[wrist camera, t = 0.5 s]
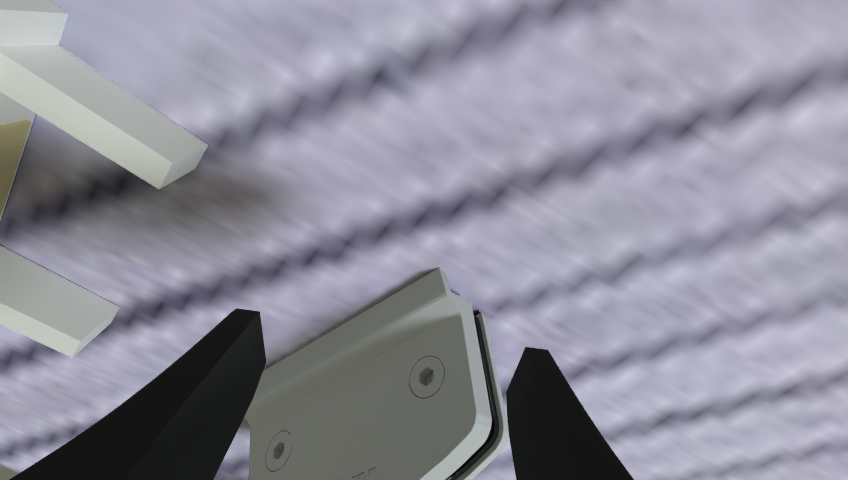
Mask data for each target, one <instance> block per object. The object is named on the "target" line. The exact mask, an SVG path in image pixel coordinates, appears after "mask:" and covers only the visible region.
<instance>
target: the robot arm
mask: <svg viewBox="0 0 848 480" xmlns="http://www.w3.org/2000/svg"><path fill="white" fill-rule="evenodd" d="M265 364H266V357H265V349H264V341H263V334H262V326H261V318H260V312H258V311H251V310H243V309H235V310H234V311H232V312H231V313H230V314H229V315H228V316H227V317H226V318H225V319H223V320H222V321H221V322H220V323H219V324H218V325H217V326H216V327H215V328H213V329H212V330H211V331H210V332H209V333H208V334H207V335H206V336H204V337H203V338H202V339H201V340H200V341H199V342H198V343H196V344H195V345H194V346H193V347H192V348H191V349H190V350H188V351H187V352H186V353H185V354H184V355H183V356H181V357H180V358H179V359H178V360H177V361H175V362H174V363H173V364H172V365H171V366H169V367H168V368H167V369H166V370H165V371H163V372H162V373H161V374H160V375H159V376H157V377H156V378H155V379H154V380H152V381H151V382H150V383H148V384H147V385H146V386H145V387H143V388H142V389H141V390H139V391H138V392H137V393H136V394H134V395H133V396H132V397H130V398H129V399H128V400H127V401H125V402H124V403H123V404H121V405H120V406H119V407H117V408H116V409H115V410H113V411H112V412H111V413H109V414H108V415H106V416H105V417H104V418H102V419H101V420H99V421H98V422H97V423H95V424H94V425H92V426H91V427H89V428H88V429H87V430H85V431H84V432H82V433H81V434H79V435H78V436H76V437H75V438H74V439H72V440H71V441H69V442H68V443H66V444H65V445H63V446H61V447H60V448H58V449H57V450H55V451H54V452H52V453H51V454H49V455H48V456H46V457H44V458H43V459H41V460H40V461H38V462H37V463H35V464H34V465H32V466H30V467H29V468H27V469H26V470H24V471H23V472H21V473H19V474H18V475H16V476H14V477H13V478H11V479H10V480H213V479H214V477H215V475H216V473H217V471H218V469H219V467H220V465H221V463H222V461H223V459H224V457H225V455H226V453H227V451H228V449H229V447H230V445H231V443H232V441H233V439H234V437H235V434H236V432H237V430H238V428H239V426H240V424H241V422H242V420H243V418H244V416H245V414H246V412H247V410H248V408H249V406H250V404H251V402H252V400H253V397H254V395H255V392H256V389H257V386H258V384H259V381H260V378H261V375H262V372H263V369H264V367H265ZM506 396H507V417H508V431H509V437H510V444H511V450H512V456H513V462H514V467H515V473H516V479H517V480H634V479H633V478H632V476H631V475H630V474H629V472H628V471H627V470H626V468H625V467H624V466H623V464H622V463H621V462H620V460H619V459H618V457H617V456H616V455H615V453H614V452H613V451H612V449H611V448H610V446H609V445H608V443H607V442H606V441H605V439H604V438H603V436H602V435H601V433H600V432H599V430H598V429H597V427H596V426H595V424H594V423H593V421H592V420H591V418H590V417H589V415H588V414H587V412H586V411H585V409H584V408H583V406H582V405H581V403H580V401H579V400H578V398H577V397H576V395H575V393H574V392H573V390H572V389H571V387H570V385H569V384H568V382H567V381H566V379H565V377H564V376H563V374H562V372H561V371H560V369H559V367H558V366H557V364H556V362H555V361H554V359H553V357H552V356H551V354H550V353H549V351H548V350H544V349H536V348H529V347H525V350H524V352H523V354H522V357H521V359H520V362H519V364H518V366H517V369H516V371H515V373H514V376H513V378H512V380H511V383H510V385H509V387H508V390H507V392H506Z"/></svg>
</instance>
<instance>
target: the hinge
mask: <svg viewBox="0 0 848 480" xmlns="http://www.w3.org/2000/svg"><path fill="white" fill-rule="evenodd" d="M244 418H245V419H246V421H247V423H248V424H249V426H250V454H249V480H472V479H473V478H474V477H475V476H476V475H477V474H478V473H479V472H481V471H482V470H483V469H484V468H485V467H486V466H487V465H488V464H489V463H490V462H491V461H492V460H493V459H494V458H495V457H496V456H497V455H498V454H499V453H500V452H501V451H502V450H503V449H504V448H505V446H506V444H507V442H508V437H509V431H508V423H507V418H506V413H505V408H504V403H503V398H502V394H501V389H500V384H499V379H498V374H497V369H496V364H495V359H494V354H493V349H492V344H491V340H490V335H489V330H488V325H487V322H486V320H485V318H484V316H483V314H482V313H480V314H478V315H476V316H474V315H473V309H472V304H471V302H469V301H467V300H465V299H464V298H462V297H460V296H458V295H456V294H455V293H453V292H451V290H450V287H449V283H448V280H447V277H446V273H445V272H444V271H443V270H442V269H440V268H437V269H436V270H434V271H432V272H431V273H429V274H427V275H426V276H424V277H422V278H420V279H419V280H417V281H415V282H414V283H412V284H410V285H408V286H407V287H405V288H403V289H402V290H400V291H398V292H397V293H395V294H393V295H391V296H390V297H388V298H386V299H385V300H383V301H381V302H379V303H378V304H376V305H374V306H373V307H371V308H369V309H368V310H366V311H364V312H362V313H361V314H359V315H357V316H356V317H354V318H352V319H351V320H349V321H347V322H345V323H344V324H342V325H340V326H339V327H337V328H335V329H333V330H332V331H330V332H328V333H327V334H325V335H323V336H322V337H320V338H318V339H316V340H315V341H313V342H311V343H310V344H308V345H306V346H305V347H303V348H301V349H299V350H298V351H296V352H294V353H293V354H291V355H289V356H287V357H286V358H284V359H282V360H281V361H279V362H277V363H276V364H274V365H272V366H270V367H269V368H267V369H265V370H264V371H263V372H262V375H261V378H260V381H259V384H258V386H257V389H256V392H255V395H254V397H253V400H252V402H251V404H250V406H249V408H248V410H247V412H246V414H245V416H244Z"/></svg>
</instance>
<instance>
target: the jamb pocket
mask: <svg viewBox="0 0 848 480" xmlns="http://www.w3.org/2000/svg"><path fill="white" fill-rule="evenodd" d="M68 15H69V13H67V12H66V11H64V10H63V9H62V8H60V7H59V6H57V5H56V4H54V3H53V2H52V1H50V0H0V221H1V218H2V215H3V212H4V209H5V206H6V203H7V200H8V197H9V194H10V191H11V188H12V185H13V182H14V179H15V175H16V172H17V169H18V166H19V163H20V160H21V157H22V154H23V151H24V148H25V145H26V142H27V139H28V136H29V133H30V130H31V127H32V124H33V121H34V118H35V115H36V114H37V115H39V116H41V117H42V118H44V119H45V120H47V121H49V122H50V123H52V124H54V125H55V126H57V127H58V128H60V129H62V130H63V131H65V132H67V133H68V134H70V135H71V136H73V137H75V138H76V139H78V140H80V141H81V142H83V143H84V144H86V145H88V146H89V147H91V148H93V149H94V150H96V151H97V152H99V153H101V154H102V155H104V156H105V157H107V158H109V159H110V160H112V161H114V162H115V163H117V164H118V165H120V166H122V167H123V168H125V169H127V170H128V171H130V172H131V173H133V174H135V175H136V176H138V177H140V178H141V179H143V180H144V181H146V182H148V183H149V184H151V185H152V186H154V187H156V188H157V189H161V188H162V187H164V186H166V185H168V184H170V183H171V182H173V181H175V180H177V179H178V178H180V177H182V176H184V175H185V174H187V173H189V172H191V171H192V170H194V169H196V167H197V165H198V163H199V162H200V160H201V158H202V156H203V154H204V152H205V151H206V149H207V147H208V145H207V144H206V143H204V142H203V141H201V140H200V139H198V138H197V137H195V136H194V135H192V134H191V133H189V132H188V131H186V130H185V129H183V128H182V127H180V126H179V125H177V124H176V123H175V122H173V121H172V120H170V119H169V118H167V117H166V116H164V115H163V114H161V113H160V112H158V111H157V110H155V109H154V108H152V107H151V106H149V105H148V104H146V103H145V102H143V101H142V100H140V99H139V98H137V97H136V96H134V95H133V94H131V93H130V92H128V91H127V90H125V89H124V88H123V87H121V86H120V85H118V84H117V83H115V82H114V81H112V80H111V79H109V78H108V77H106V76H105V75H103V74H102V73H100V72H99V71H97V70H96V69H94V68H93V67H91V66H90V65H88V64H87V63H85V62H84V61H82V60H81V59H79V58H78V57H76V56H75V55H73V54H72V53H71V52H69V51H68V50H66V49H65V48H63V47H62V46H60V45H59V42H60V39H61V36H62V33H63V30H64V27H65V24H66V21H67V18H68ZM119 308H120V307H119V306H117V305H115V304H113V303H111V302H109V301H107V300H105V299H103V298H101V297H99V296H97V295H95V294H94V293H92V292H90V291H88V290H86V289H84V288H82V287H80V286H78V285H76V284H74V283H72V282H70V281H68V280H66V279H64V278H63V277H61V276H59V275H57V274H55V273H53V272H51V271H49V270H47V269H45V268H43V267H41V266H39V265H37V264H35V263H34V262H32V261H30V260H28V259H26V258H24V257H22V256H20V255H18V254H16V253H14V252H12V251H10V250H8V249H6V248H5V247H3V246H1V245H0V324H1V325H3V326H5V327H7V328H9V329H11V330H14V331H16V332H18V333H20V334H22V335H24V336H27V337H29V338H31V339H33V340H35V341H37V342H39V343H42V344H44V345H46V346H48V347H50V348H52V349H54V350H57V351H59V352H61V353H63V354H65V355H67V356H69V357H73V356H75V355H76V354H77V353H78V352H79V351H80V350H81V349H82V348H83V347H85V346H86V345H87V344H88V343H89V342H90V341H91V340H92V339H93V338H95V337H96V336H97V335H98V334H99V333H100V332H101V331H102V330H103V329H105V328H106V327H107V326H108V325H109V324H110V323H111V322H112V320H113V318H114V317H115V315H116V313H117V311H118V309H119Z"/></svg>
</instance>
